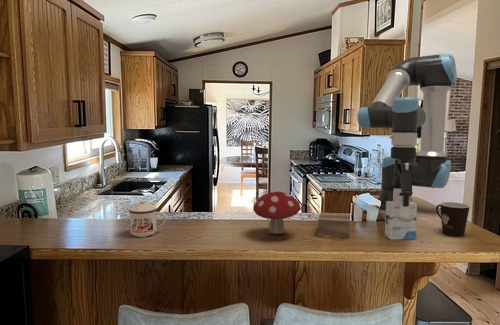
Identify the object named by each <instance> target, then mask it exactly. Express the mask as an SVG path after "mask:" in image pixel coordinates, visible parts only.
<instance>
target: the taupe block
mask: <svg viewBox="0 0 500 325" xmlns="http://www.w3.org/2000/svg"><path fill="white" fill-rule="evenodd" d="M350 230H351V214H350V213H337V212H323V211H322V212H320V214H319V217H318V219H317V236H318V235H319V236H331V237H340V238H339V239H343V238H349V239H350V232H351V231H350ZM319 236H318V237H319ZM331 237H330V238H331Z"/></svg>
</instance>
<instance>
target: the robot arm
mask: <svg viewBox="0 0 500 325" xmlns="http://www.w3.org/2000/svg"><path fill="white" fill-rule="evenodd" d="M457 75H458V74H457V66H456V60H455V58H454V55H453V54H451V53H438V54H431V55H424V56H414V57H413V56H412V57H409V58H407V59H404V60H403V61H401V62H399V63H398V64H395V65H394V66H393V67H392V68H391V69H390V70H389V72H388V73H387V75H386V77H385V82H384V84H383V86H382V87H381V89H379V92H377V95H376V96H375V98H374V99H373V101H372V102H371V104H370V105H369V106H365V107H363V106H362V107H360V108H359V110H358V111H357V116H356V118H357V123H358V126H359V127H360V128H366V129H367V128H368V129H386V128H387V129H391V135H389V139H391V143H390V144H391V146H392V147H390V156H386V157H384V158H383V159H382V160H381V167H380V168H381V179H380V180H381V181H380V182H381V185H380V186H381V189H380V192H379V195H378V197H377V199H378V200H380V201H381V206H380V208H379V209H380V210H384V211H386V201H400V217H410V201H411V202H413V199H412V195H413V187H421V188H422V187H423V188H431V189H442V188H445V187H446V186H447V184H448V182H449V178H450V176H451V170H452V160H449V159H448V155H447V154H446V153H445V152H444V151H445V150H444V146H445V145H444V144H445V133H446V132H445V130H446V129H445V128H446V113H447V111H446V110H447V98H448V96H447V95H448V92H449V91H450V90H452V87H453V84H456V83H457V77H458V76H457ZM411 86H419V90H420V91H421V92H422V93H423V96H422V107H421V106H420V105H419V98H418V97H413V96H407V97H405V96H402V97H400V96H401V94H402V92H403V91H404V90H406V89H407V88H408V87H411ZM420 127H421V130H420V131H421V132H420V150H419V152H417V148H416V146H418V128H420ZM413 203H414V202H413Z"/></svg>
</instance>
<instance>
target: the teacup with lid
mask: <svg viewBox="0 0 500 325" xmlns="http://www.w3.org/2000/svg"><path fill="white" fill-rule="evenodd" d="M157 210H158V208H157V206H156V205H155V204H154V205H153V204H151V203H148V202H147V201H146V200H145V199H141V200H139V203H137V204H135V205H134V206H131V207H130V208H129V210H128V212H129V224H130V229H129V230H130V234H131V233H133V234H139V235H141V234H142V235H143V234H151V233H154V232H156V231H157V232H158V228H159V227H162V226H164V225H165V223H166V220H167V217H166V214H165V212H162V211H157ZM157 215H162V216H163V221H162V222H161V223H159V224H157V223H158V222H157V218H158V217H157Z"/></svg>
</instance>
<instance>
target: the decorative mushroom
mask: <svg viewBox="0 0 500 325" xmlns="http://www.w3.org/2000/svg"><path fill="white" fill-rule="evenodd" d="M300 210H302V207H301V204H300V201H298V200H297V199H296V198H295V197H293V196H292V195H291V194H289V193H286V192H283V191H277V190H276V191H271V192H267V193H265V194H263V195H262V196H260V197H259V198H258V199H257V200H256V201H255V202H253V212H254V213H255V215H257V216H258V217H261V218H264V219H267V220H270V221H269V233H271V234H273V235H281V234H283V233H285V223H284V219H285V220H286V219H289V218H292V217H293V216H296V215H298V213H299V212H300Z"/></svg>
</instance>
